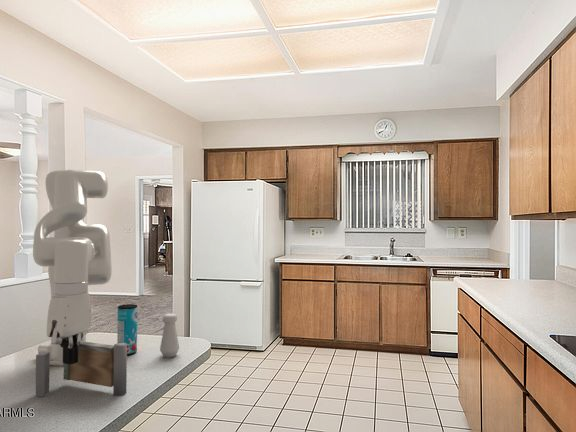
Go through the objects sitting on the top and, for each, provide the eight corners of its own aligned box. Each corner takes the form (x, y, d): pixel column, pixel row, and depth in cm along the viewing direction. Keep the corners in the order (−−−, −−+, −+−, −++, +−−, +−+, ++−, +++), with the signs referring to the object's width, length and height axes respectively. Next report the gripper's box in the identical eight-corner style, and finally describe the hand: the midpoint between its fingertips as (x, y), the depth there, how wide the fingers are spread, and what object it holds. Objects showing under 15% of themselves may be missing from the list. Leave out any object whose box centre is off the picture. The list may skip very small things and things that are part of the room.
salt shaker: (181, 353, 134) (182, 312, 134) (175, 359, 128) (175, 316, 128) (164, 352, 135) (164, 312, 135) (156, 358, 129) (157, 316, 129)
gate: (116, 384, 105) (116, 345, 105) (110, 387, 103) (110, 348, 103) (69, 376, 110) (70, 339, 110) (63, 379, 108) (63, 341, 108)
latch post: (35, 396, 101) (36, 355, 101) (40, 392, 103) (41, 352, 103) (44, 396, 101) (44, 355, 101) (49, 392, 103) (49, 351, 103)
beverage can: (133, 356, 131) (134, 308, 131) (114, 356, 131) (114, 308, 131) (139, 350, 137) (139, 304, 137) (120, 350, 136) (121, 304, 137)
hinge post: (111, 395, 102) (112, 346, 102) (115, 390, 105) (116, 342, 105) (124, 395, 102) (124, 346, 102) (128, 390, 105) (128, 342, 105)
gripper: (80, 283, 112) (80, 352, 112) (33, 293, 98) (32, 372, 98) (104, 285, 110) (103, 355, 110) (59, 294, 96) (58, 375, 96)
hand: (70, 362), depth 104 cm, fingers closed
